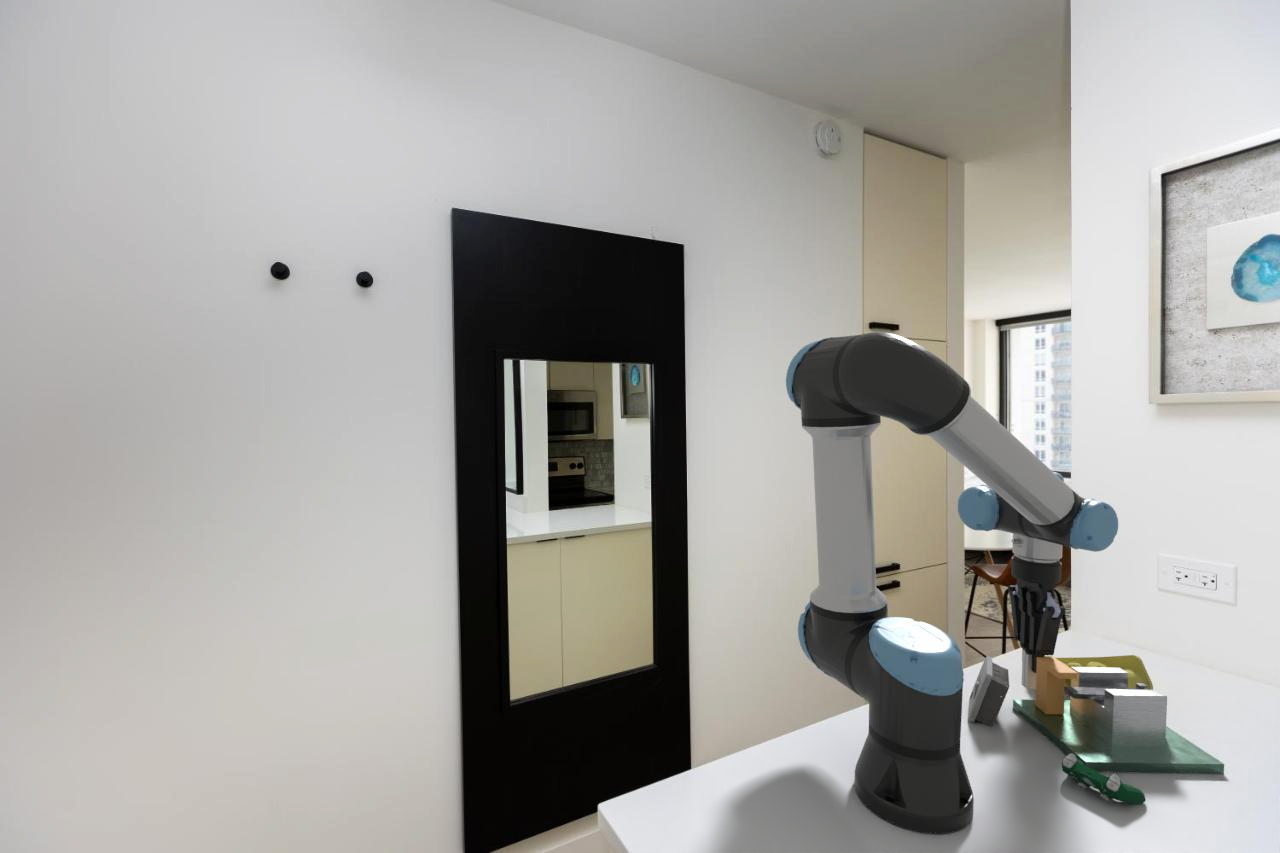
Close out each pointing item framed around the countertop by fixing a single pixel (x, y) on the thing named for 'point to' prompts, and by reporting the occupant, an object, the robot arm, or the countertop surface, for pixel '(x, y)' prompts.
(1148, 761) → the green mounting baseplate
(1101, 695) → the strap
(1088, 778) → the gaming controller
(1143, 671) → the plastic component
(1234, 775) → the countertop surface
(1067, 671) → the block
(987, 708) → the electrical switch
